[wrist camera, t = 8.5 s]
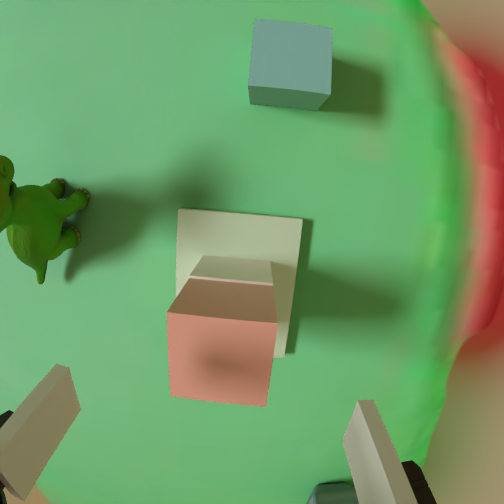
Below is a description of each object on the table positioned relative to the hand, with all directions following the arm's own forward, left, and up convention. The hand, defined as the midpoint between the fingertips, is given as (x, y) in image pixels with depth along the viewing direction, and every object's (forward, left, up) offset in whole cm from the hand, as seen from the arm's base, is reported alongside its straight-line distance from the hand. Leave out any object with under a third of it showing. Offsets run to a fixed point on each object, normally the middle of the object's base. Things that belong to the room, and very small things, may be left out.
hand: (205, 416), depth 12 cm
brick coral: (0, 0, -11) cm, 11 cm away
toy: (-5, -19, -18) cm, 27 cm away
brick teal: (-20, +3, -18) cm, 27 cm away
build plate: (0, 0, -18) cm, 18 cm away
